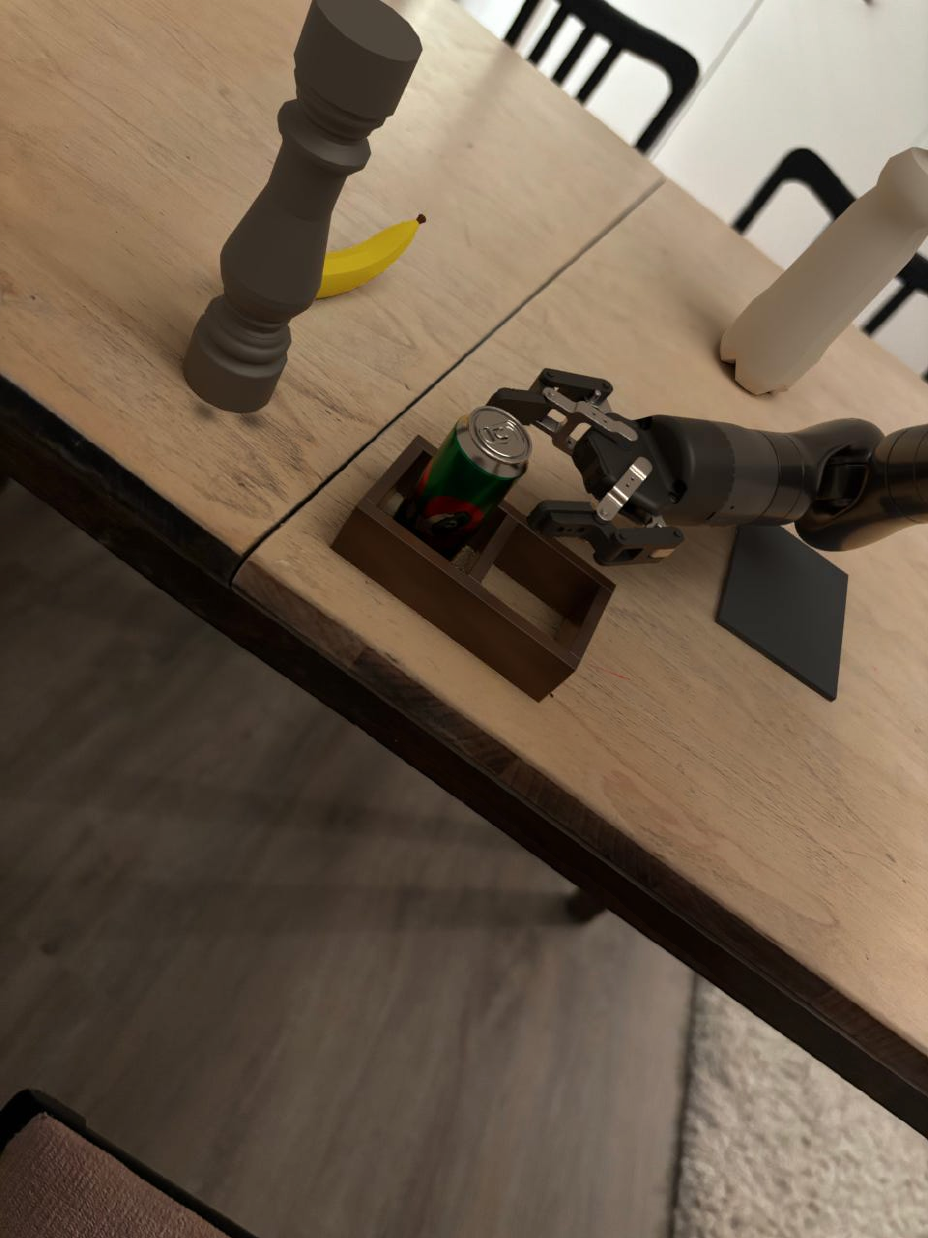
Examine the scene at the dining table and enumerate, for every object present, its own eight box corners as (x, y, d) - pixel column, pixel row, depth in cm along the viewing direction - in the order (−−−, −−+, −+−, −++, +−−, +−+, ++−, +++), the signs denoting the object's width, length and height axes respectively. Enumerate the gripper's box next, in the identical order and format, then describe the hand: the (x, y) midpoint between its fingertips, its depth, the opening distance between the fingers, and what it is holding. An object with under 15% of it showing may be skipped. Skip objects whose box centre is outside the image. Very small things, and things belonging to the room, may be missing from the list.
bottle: (794, 402, 101) (1049, 161, 80) (743, 404, 96) (1001, 146, 74) (750, 339, 104) (984, 89, 83) (698, 337, 99) (933, 69, 77)
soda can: (460, 573, 65) (552, 464, 56) (400, 585, 62) (488, 471, 53) (428, 514, 67) (512, 398, 58) (368, 523, 63) (448, 402, 55)
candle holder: (236, 335, 67) (373, -19, 49) (290, 399, 66) (450, 63, 48) (163, 354, 63) (283, -25, 44) (220, 423, 62) (365, 65, 44)
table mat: (831, 702, 77) (836, 699, 77) (714, 621, 75) (719, 617, 75) (844, 578, 88) (848, 574, 87) (742, 504, 86) (746, 500, 86)
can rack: (581, 618, 68) (617, 584, 65) (539, 703, 62) (576, 670, 59) (391, 474, 67) (418, 433, 64) (329, 547, 61) (355, 505, 58)
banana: (194, 298, 67) (218, 225, 62) (382, 264, 80) (414, 201, 75) (217, 328, 66) (244, 257, 62) (403, 289, 79) (436, 227, 74)
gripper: (689, 360, 67) (503, 328, 58) (777, 524, 61) (586, 517, 52) (627, 430, 73) (449, 410, 64) (703, 587, 67) (518, 589, 58)
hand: (511, 458), depth 58 cm, fingers open, 8 cm apart
